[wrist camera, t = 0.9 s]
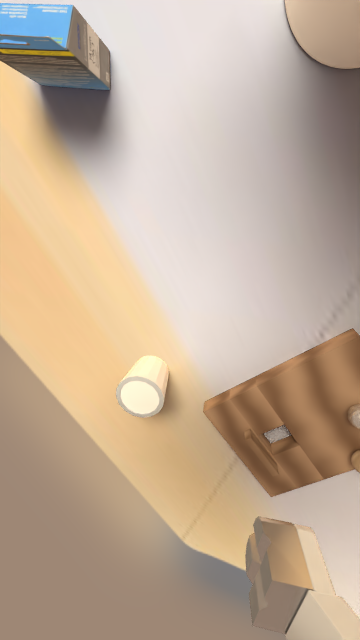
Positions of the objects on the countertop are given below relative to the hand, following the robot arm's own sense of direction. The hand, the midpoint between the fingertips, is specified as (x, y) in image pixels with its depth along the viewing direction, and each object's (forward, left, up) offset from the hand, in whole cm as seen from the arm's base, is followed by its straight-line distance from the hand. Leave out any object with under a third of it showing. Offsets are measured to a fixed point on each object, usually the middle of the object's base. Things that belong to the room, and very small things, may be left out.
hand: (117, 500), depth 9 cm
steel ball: (-6, +28, -30) cm, 41 cm away
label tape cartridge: (0, -27, -34) cm, 43 cm away
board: (+1, +28, -34) cm, 44 cm away
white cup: (+17, +9, -34) cm, 39 cm away
